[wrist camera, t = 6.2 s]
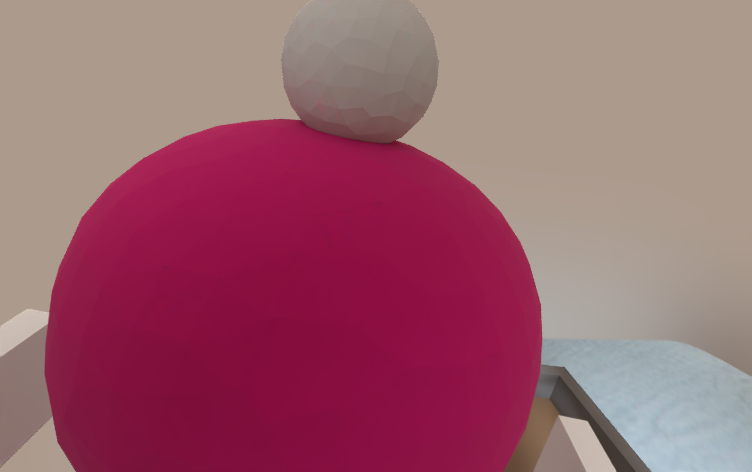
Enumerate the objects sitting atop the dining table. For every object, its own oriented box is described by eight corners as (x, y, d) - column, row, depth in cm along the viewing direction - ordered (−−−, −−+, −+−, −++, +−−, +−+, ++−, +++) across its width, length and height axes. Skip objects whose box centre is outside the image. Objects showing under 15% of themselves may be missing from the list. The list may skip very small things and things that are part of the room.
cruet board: (557, 388, 34) (571, 356, 33) (728, 615, 20) (762, 571, 19) (368, 371, 31) (377, 335, 30) (414, 625, 17) (434, 574, 16)
